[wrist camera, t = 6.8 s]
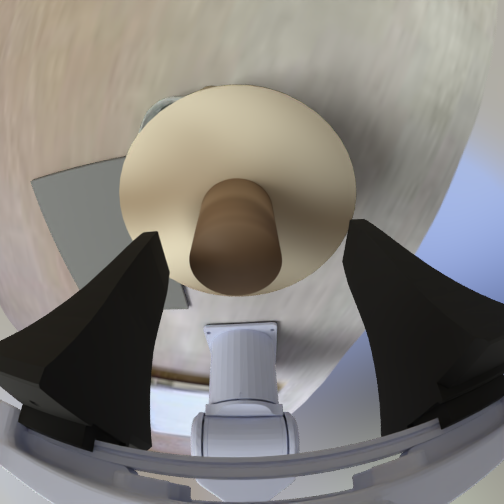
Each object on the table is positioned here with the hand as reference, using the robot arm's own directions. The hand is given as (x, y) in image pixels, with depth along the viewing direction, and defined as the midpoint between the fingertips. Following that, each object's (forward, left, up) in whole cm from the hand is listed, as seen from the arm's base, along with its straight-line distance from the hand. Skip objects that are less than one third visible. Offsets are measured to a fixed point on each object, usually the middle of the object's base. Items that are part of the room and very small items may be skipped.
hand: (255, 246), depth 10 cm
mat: (-7, +13, -10) cm, 18 cm away
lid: (0, +1, -3) cm, 3 cm away
